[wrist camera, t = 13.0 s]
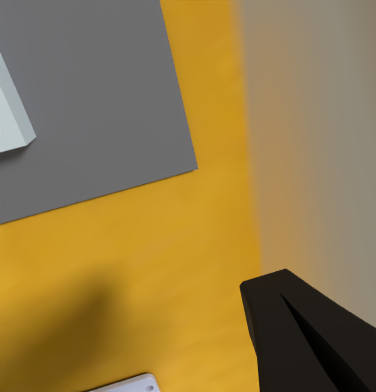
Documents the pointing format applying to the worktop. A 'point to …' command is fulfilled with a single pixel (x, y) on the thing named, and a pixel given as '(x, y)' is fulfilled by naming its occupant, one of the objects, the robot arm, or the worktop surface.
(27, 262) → the worktop surface
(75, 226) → the worktop surface
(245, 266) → the worktop surface
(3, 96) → the block
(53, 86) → the mat
